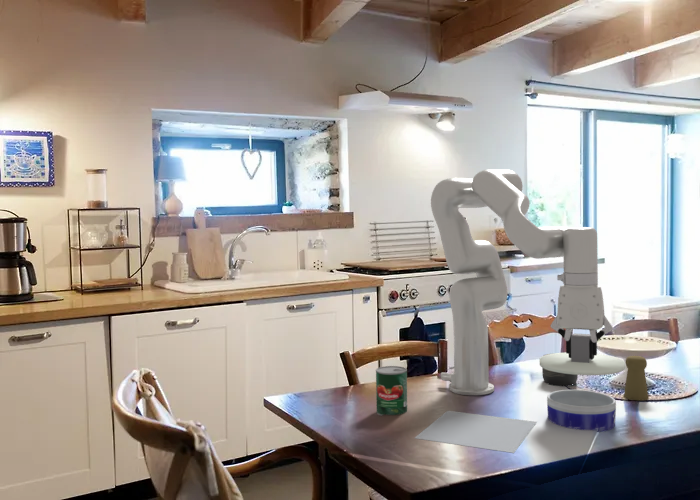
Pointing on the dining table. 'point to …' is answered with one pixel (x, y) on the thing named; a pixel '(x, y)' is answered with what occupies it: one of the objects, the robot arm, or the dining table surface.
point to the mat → (478, 431)
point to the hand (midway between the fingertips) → (581, 356)
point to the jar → (558, 378)
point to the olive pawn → (636, 378)
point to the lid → (582, 360)
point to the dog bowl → (582, 410)
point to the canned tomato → (391, 390)
